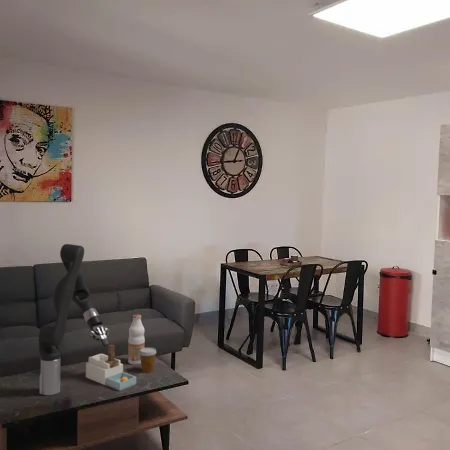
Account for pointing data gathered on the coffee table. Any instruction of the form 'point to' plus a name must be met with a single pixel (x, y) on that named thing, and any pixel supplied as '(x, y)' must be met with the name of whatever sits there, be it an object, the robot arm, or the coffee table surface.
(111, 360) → the plunger
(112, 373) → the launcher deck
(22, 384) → the coffee table surface
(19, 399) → the coffee table surface
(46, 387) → the robot arm
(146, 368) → the disposable coffee cup
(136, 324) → the fruit juice
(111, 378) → the bin
